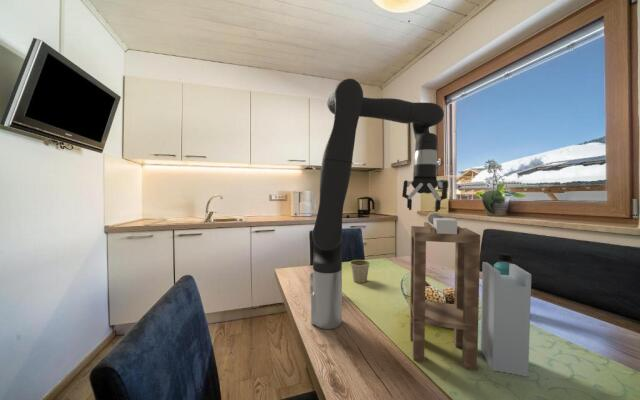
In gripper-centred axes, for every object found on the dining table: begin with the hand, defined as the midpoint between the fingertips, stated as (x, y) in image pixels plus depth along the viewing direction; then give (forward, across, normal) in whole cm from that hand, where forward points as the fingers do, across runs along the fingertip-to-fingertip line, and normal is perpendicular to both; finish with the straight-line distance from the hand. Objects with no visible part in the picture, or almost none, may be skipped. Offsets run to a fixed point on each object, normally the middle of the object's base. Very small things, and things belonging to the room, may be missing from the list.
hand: (423, 210), depth 87 cm
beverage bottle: (+34, +29, +9) cm, 45 cm away
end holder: (+36, +17, -22) cm, 45 cm away
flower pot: (+35, -24, +23) cm, 48 cm away
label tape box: (+36, -37, +6) cm, 52 cm away
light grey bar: (+2, +2, -19) cm, 19 cm away
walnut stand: (+36, +3, -22) cm, 42 cm away
